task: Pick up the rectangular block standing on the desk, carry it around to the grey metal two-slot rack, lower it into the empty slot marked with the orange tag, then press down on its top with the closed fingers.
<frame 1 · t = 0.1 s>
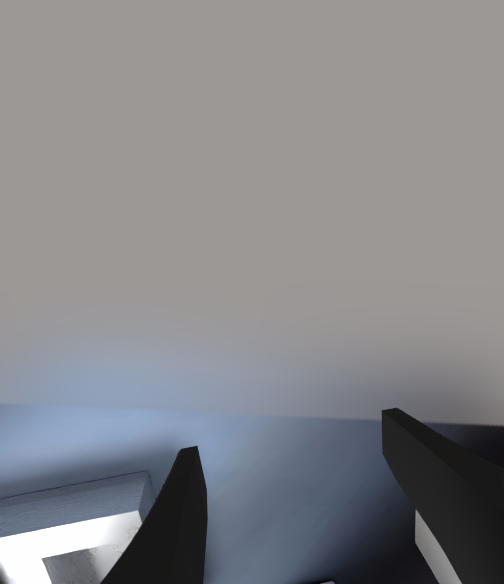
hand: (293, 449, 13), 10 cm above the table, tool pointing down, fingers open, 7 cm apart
rectangular block: (431, 503, 29), on the table
rack: (61, 563, 26), on the table
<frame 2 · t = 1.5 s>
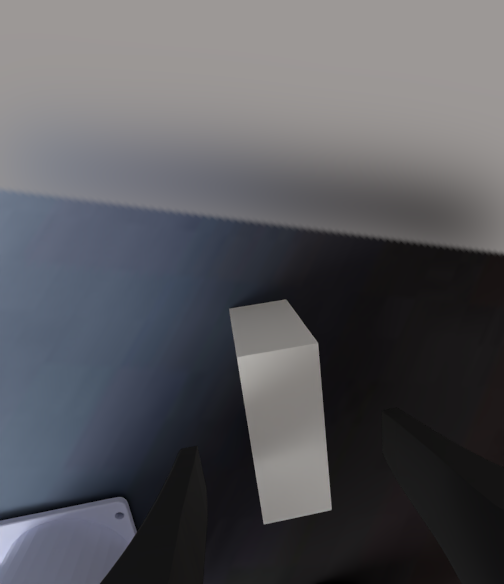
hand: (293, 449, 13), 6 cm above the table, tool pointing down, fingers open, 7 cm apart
rectangular block: (266, 371, 19), on the table
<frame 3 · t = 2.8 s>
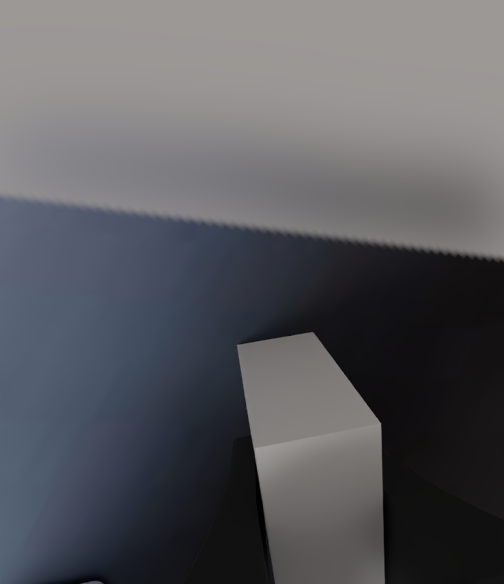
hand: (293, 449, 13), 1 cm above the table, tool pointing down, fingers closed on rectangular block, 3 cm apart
rectangular block: (285, 424, 14), on the table, touching gripper
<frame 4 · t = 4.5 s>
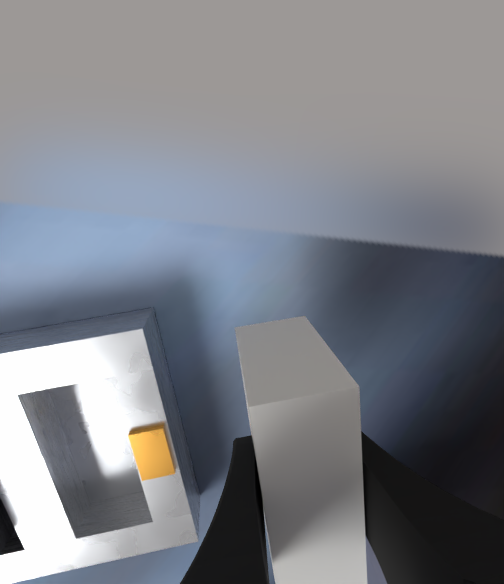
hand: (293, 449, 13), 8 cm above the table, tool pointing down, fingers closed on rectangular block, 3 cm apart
rectangular block: (279, 403, 15), point 6 cm above the table, touching gripper
rack: (49, 436, 21), on the table
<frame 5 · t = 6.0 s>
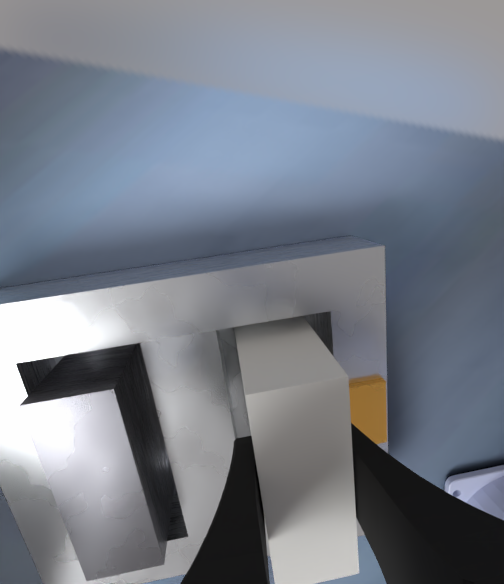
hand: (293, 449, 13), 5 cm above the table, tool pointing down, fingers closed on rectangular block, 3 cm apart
rectangular block: (276, 396, 16), point 1 cm above the table, touching gripper
rack: (202, 398, 17), on the table
when the fingers open (4 cm above the table, at t = 6.5 s): rectangular block stays where it is, resting on rack.
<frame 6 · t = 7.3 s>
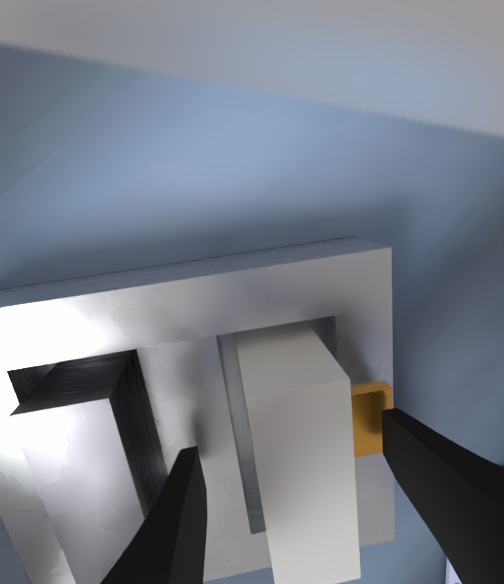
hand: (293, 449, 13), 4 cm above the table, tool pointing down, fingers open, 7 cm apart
rectangular block: (277, 397, 16), point 1 cm above the table, touching rack
rack: (202, 404, 16), on the table
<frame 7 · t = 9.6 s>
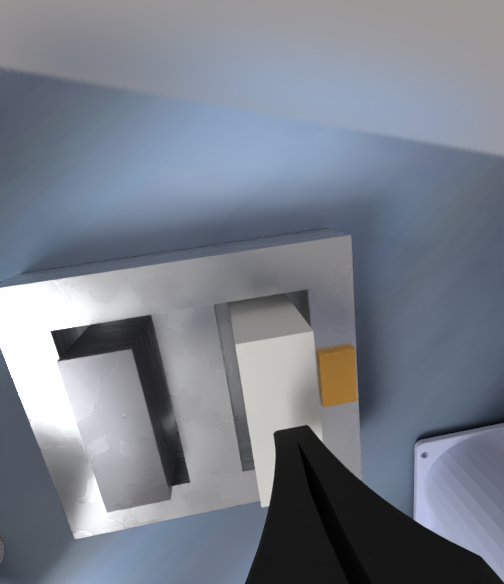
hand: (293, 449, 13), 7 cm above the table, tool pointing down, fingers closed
rectangular block: (264, 362, 19), point 1 cm above the table, touching rack
rack: (202, 368, 20), on the table
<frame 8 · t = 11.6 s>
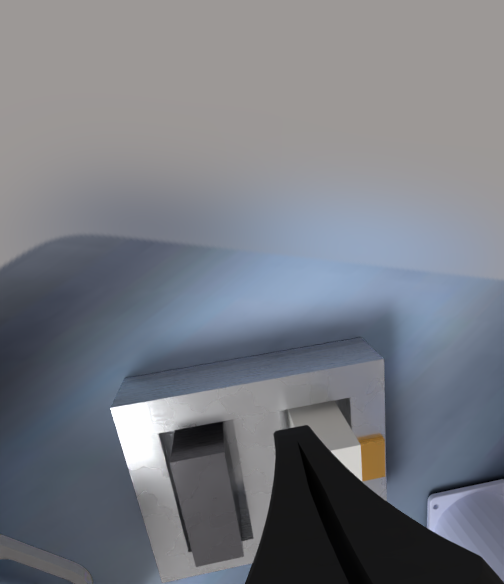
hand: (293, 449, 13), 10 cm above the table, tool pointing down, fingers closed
rectangular block: (309, 440, 24), point 1 cm above the table, touching rack
rack: (258, 443, 24), on the table
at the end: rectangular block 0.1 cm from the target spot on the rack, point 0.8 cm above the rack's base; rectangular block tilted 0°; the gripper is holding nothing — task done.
